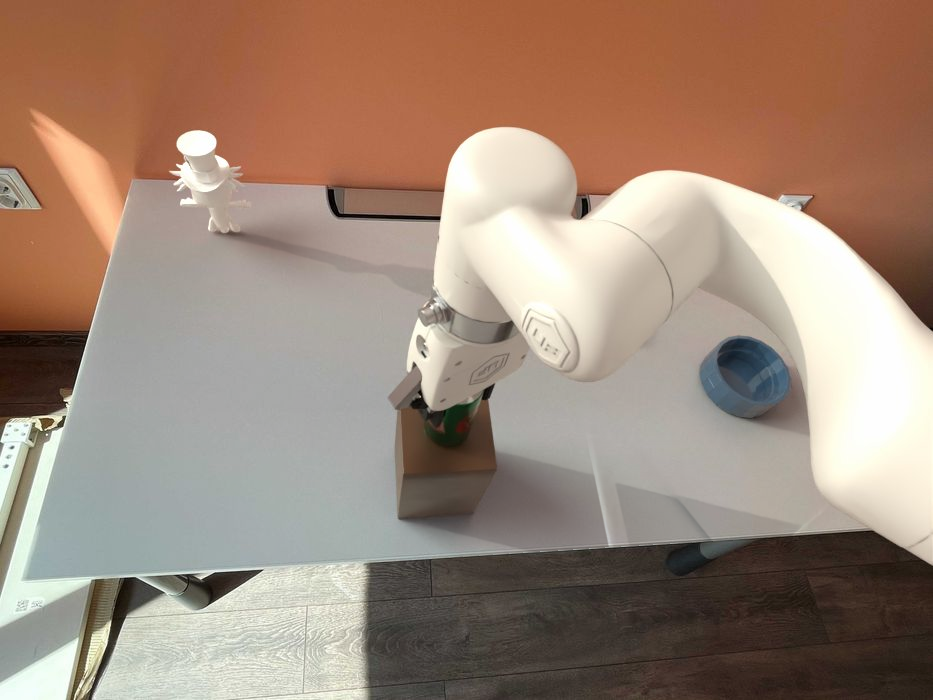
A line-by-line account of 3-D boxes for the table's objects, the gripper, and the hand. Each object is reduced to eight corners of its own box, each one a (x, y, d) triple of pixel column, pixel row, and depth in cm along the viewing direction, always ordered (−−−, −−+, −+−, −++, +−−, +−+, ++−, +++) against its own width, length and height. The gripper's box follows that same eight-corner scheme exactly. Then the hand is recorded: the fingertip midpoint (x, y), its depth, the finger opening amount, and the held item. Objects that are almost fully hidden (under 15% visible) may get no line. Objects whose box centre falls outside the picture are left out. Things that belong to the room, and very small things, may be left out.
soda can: (418, 411, 64) (426, 357, 53) (462, 401, 65) (477, 346, 55) (430, 453, 61) (441, 405, 51) (475, 442, 63) (494, 393, 52)
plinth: (465, 442, 82) (486, 385, 66) (473, 513, 77) (497, 469, 61) (394, 446, 80) (398, 387, 65) (397, 519, 75) (403, 474, 60)
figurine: (260, 215, 98) (239, 126, 82) (256, 250, 94) (233, 164, 78) (195, 213, 96) (160, 122, 81) (188, 249, 92) (150, 160, 77)
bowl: (786, 396, 93) (806, 382, 89) (737, 432, 89) (756, 419, 84) (732, 340, 98) (748, 323, 93) (683, 371, 93) (697, 356, 89)
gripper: (408, 386, 37) (398, 476, 53) (602, 285, 44) (543, 392, 59) (352, 302, 40) (359, 411, 55) (542, 219, 46) (501, 337, 62)
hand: (454, 400), depth 57 cm, fingers closed on soda can, 5 cm apart
